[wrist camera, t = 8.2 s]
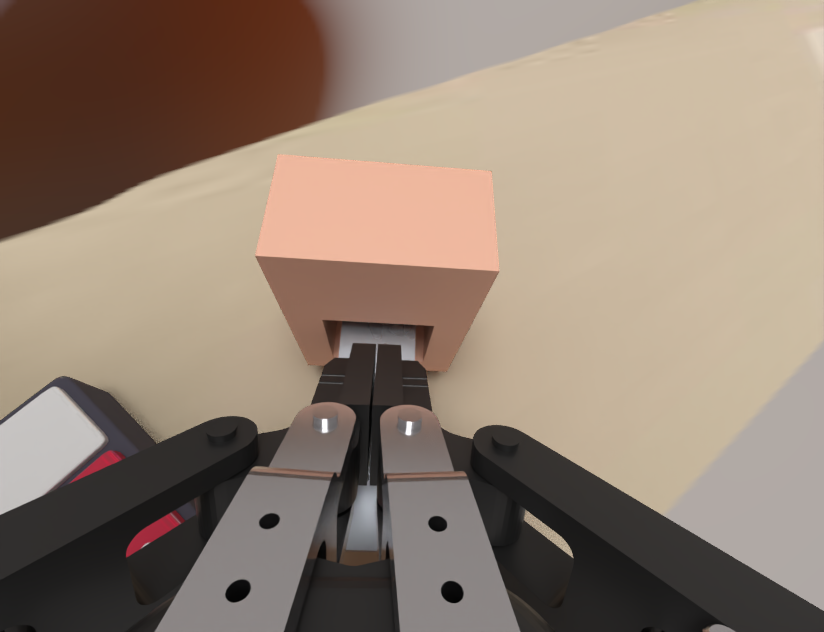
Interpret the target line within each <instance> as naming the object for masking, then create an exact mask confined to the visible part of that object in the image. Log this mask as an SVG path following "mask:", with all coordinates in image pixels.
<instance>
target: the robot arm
mask: <svg viewBox="0 0 824 632" xmlns="http://www.w3.org/2000/svg"><path fill="white" fill-rule="evenodd" d="M375 365H376V373H375ZM371 432H372V433H371ZM370 443H371V460H370V486H377V498H376V532H377V557H378V561H376V562H372V563H368V564H363V565H359V566H349V565H344V564H343V561H344V556H345V552H346V547H347V542H348V537H349V533H350V528H351V523H352V519H353V514H354V501H355V499H356V496H357V490H358V485H363V486H367V478H368V466H369V455H370ZM193 499H194V500H195V507H196V515H194V516H192V517H191V518H189V519H188V520H186V521H184V522H183V523H181V524H180V525H178V526H176V527H175V528H173V529H172V530H170V531H168V532H167V533H165V534H163V535H162V536H160V537H159V538H157V539H155V540H154V541H152V542H151V543H149V544H147V545H146V546H144V547H143V548H141V549H139V550H138V551H136V552H135V553H133V554H131V555H130V556H128V557H126V552H127V548H128V546H129V544H130V542H131V541H132V540H133V538H134V537H135V536H136V535H137V534H138V533H139V532H140V531H142V530H143V529H144V528H146V527H147V526H149V525H151V524H152V523H154V522H156V521H158V520H159V519H161V518H163V517H164V516H166V515H168V514H169V513H171V512H173V511H174V510H176V509H178V508H180V507H181V506H183V505H185V504H186V503H188V502H190V501H191V500H193ZM525 510H527V511H528V512H530V513H531V514H532V515H534V516H535V517H536V518H538V519H539V520H540V521H542V522H543V523H544V524H546V525H547V526H548V527H550V528H551V529H552V530H554V531H555V532H556V533H558V534H559V535H560V536H561V537H562V538H563V539H564V540H565V541H566V542H567V543H568V545H569V546H570V548H571V550H572V553H573V557H574V559H573V558H572V557H571V556H569V555H568V554H567V553H565V552H564V551H563V550H561V549H560V548H559V547H558V546H556V545H555V544H554V543H552V542H551V541H550V540H549V539H547V538H546V537H545V536H543V535H542V534H541V533H540V532H538V531H537V530H536V529H534V528H533V527H532V526H530V525H529V524H528V523H527V522H525V521H524V515H525ZM0 632H824V611H823V610H821V609H819V608H818V607H816V606H814V605H813V604H810V603H809V602H807V601H806V600H804V599H802V598H801V597H799V596H797V595H796V594H794V593H792V592H790V591H789V590H787V589H786V588H784V587H782V586H780V585H779V584H777V583H775V582H774V581H772V580H770V579H769V578H767V577H765V576H764V575H762V574H760V573H759V572H757V571H755V570H753V569H752V568H750V567H749V566H747V565H745V564H743V563H742V562H740V561H738V560H736V559H735V558H733V557H732V556H730V555H728V554H727V553H725V552H723V551H722V550H720V549H718V548H717V547H715V546H713V545H711V544H710V543H708V542H706V541H705V540H703V539H701V538H700V537H698V536H696V535H695V534H693V533H691V532H690V531H688V530H686V529H685V528H683V527H681V526H679V525H678V524H676V523H674V522H673V521H671V520H669V519H668V518H666V517H664V516H663V515H661V514H659V513H658V512H656V511H654V510H653V509H651V508H649V507H648V506H646V505H644V504H642V503H641V502H639V501H637V500H636V499H634V498H632V497H631V496H629V495H627V494H626V493H624V492H622V491H621V490H619V489H617V488H616V487H614V486H612V485H610V484H609V483H607V482H605V481H604V480H602V479H600V478H599V477H597V476H595V475H594V474H592V473H590V472H589V471H587V470H585V469H584V468H582V467H580V466H578V465H577V464H575V463H573V462H572V461H570V460H568V459H567V458H565V457H563V456H562V455H560V454H558V453H557V452H555V451H553V450H552V449H550V448H548V447H547V446H545V445H543V444H541V443H540V442H538V441H536V440H535V439H533V438H531V437H530V436H528V435H526V434H525V433H523V432H521V431H519V430H517V429H514V428H511V427H507V426H501V425H491V426H486V427H483V428H480V429H479V430H477V432H476V433H475V434H474V437H473V439H469V438H465V437H461V436H458V435H454V434H452V433H449V432H447V431H446V430H444V429H443V428H441V426H440V423H439V420H438V418H437V416H436V415H435V414H434V413H433V412H432V408H431V401H430V395H429V389H428V382H427V376H426V370H425V368H424V367H423V366H422V365H421V364H420V363H419V362H418V361H411V360H402V354H401V345H393V344H378V351H377V362H376V344H368V343H353V344H352V348H351V352H350V357H349V358H333V359H332V360H331V361H329V362H328V363H327V364H326V365H325V366H324V369H323V372H322V376H321V378H320V380H319V383H318V386H317V389H316V392H315V395H314V397H313V400H312V403H311V405H310V406H307V407H305V408H304V409H302V410H301V411H300V412H299V413H298V414H297V415H296V417H295V418H294V420H293V422H292V424H291V426H290V427H289V428H286V429H283V430H278V431H273V432H267V433H261V434H258V431H257V426H256V424H255V423H254V422H253V421H251V420H249V419H247V418H244V417H238V416H227V417H220V418H216V419H212V420H209V421H207V422H204V423H202V424H200V425H198V426H196V427H193V428H191V429H189V430H187V431H184V432H182V433H180V434H178V435H176V436H173V437H171V438H169V439H167V440H165V441H162V442H160V443H158V444H156V445H154V446H151V447H149V448H147V449H145V450H142V451H140V452H138V453H136V454H134V455H131V456H129V457H127V458H125V459H123V460H120V461H118V462H116V463H114V464H111V465H109V466H107V467H105V468H103V469H100V470H98V471H96V472H94V473H92V474H89V475H87V476H85V477H83V478H81V479H78V480H76V481H74V482H72V483H69V484H67V485H65V486H63V487H61V488H58V489H56V490H54V491H52V492H50V493H47V494H45V495H43V496H41V497H38V498H36V499H34V500H32V501H30V502H27V503H25V504H23V505H21V506H19V507H16V508H14V509H12V510H10V511H8V512H5V513H3V514H1V515H0Z"/></svg>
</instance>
